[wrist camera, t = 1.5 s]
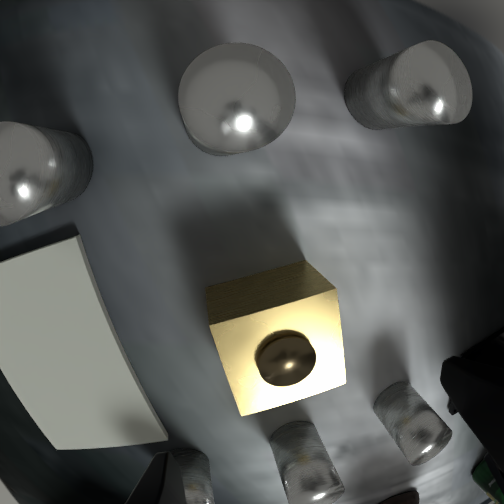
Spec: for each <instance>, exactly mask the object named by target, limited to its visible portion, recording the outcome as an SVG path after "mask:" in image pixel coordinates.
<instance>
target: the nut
mask: <svg viewBox="0 0 504 504" xmlns="http://www.w3.org/2000/svg"><path fill="white" fill-rule="evenodd" d="M205 290H206V300H207V309H208V319H209V326H210V329H211V332H212V335H213V338H214V341H215V344H216V347H217V350H218V353H219V356H220V359H221V362H222V364H223V367H224V370H225V373H226V376H227V379H228V381H229V384H230V387H231V390H232V392H233V395H234V398H235V401H236V403H237V406H238V409H239V411H240V414H241V416H245V415H248V414H252V413H256V412H259V411H263V410H267V409H270V408H273V407H277V406H280V405H283V404H287V403H290V402H293V401H296V400H299V399H302V398H305V397H308V396H311V395H314V394H317V393H320V392H323V391H326V390H329V389H331V388H334V387H337V386H339V385H342V384H345V383H346V377H345V364H344V353H343V342H342V332H341V322H340V313H339V305H338V296H337V289H336V288H335V287H334V286H333V285H332V284H331V283H330V282H329V281H328V280H327V279H326V278H325V277H323V276H322V275H321V274H320V273H319V272H318V271H317V270H316V269H315V268H314V267H313V266H312V265H310V264H309V263H308V262H307V261H306V260H304V261H300V262H297V263H293V264H290V265H286V266H283V267H279V268H275V269H272V270H268V271H265V272H261V273H257V274H254V275H250V276H246V277H243V278H239V279H235V280H232V281H228V282H224V283H221V284H217V285H213V286H209V287H206V288H205Z"/></svg>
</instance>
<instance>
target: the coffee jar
mask: <svg viewBox="0 0 504 504" xmlns="http://www.w3.org/2000/svg"><path fill="white" fill-rule="evenodd" d="M472 477H473V480H474V481H475V483H476V484H477V485H478V486H479V487H480V488H481V489H482V490H483V491H484V492H485V493H486V494H487V495H488V496H489V497H490V498H491V499H492V500H493V501H494V502H495V503H496V504H504V495H503V493H502V492H501V490H500V488H499V486H498V484H497V482H496V480H495V479H494V477H493V475H492V473H491V471H490V470H489V468H488V466H487V463H486V461H485V459H483V460H482V462H481V463H480V464H479V465H478V466H477V467H476V469H475V471H474V473H473V476H472Z"/></svg>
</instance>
